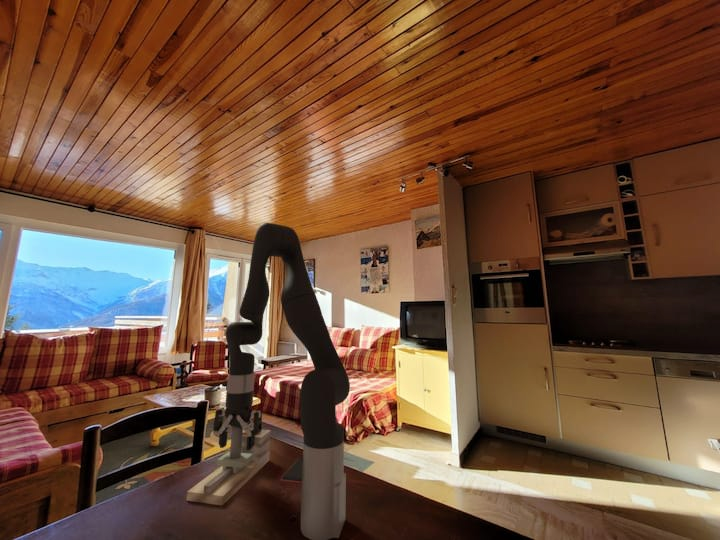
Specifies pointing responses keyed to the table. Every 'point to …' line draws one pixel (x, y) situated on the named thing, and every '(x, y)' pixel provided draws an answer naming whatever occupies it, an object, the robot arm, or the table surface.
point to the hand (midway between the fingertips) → (236, 448)
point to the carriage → (235, 453)
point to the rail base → (232, 474)
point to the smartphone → (294, 472)
